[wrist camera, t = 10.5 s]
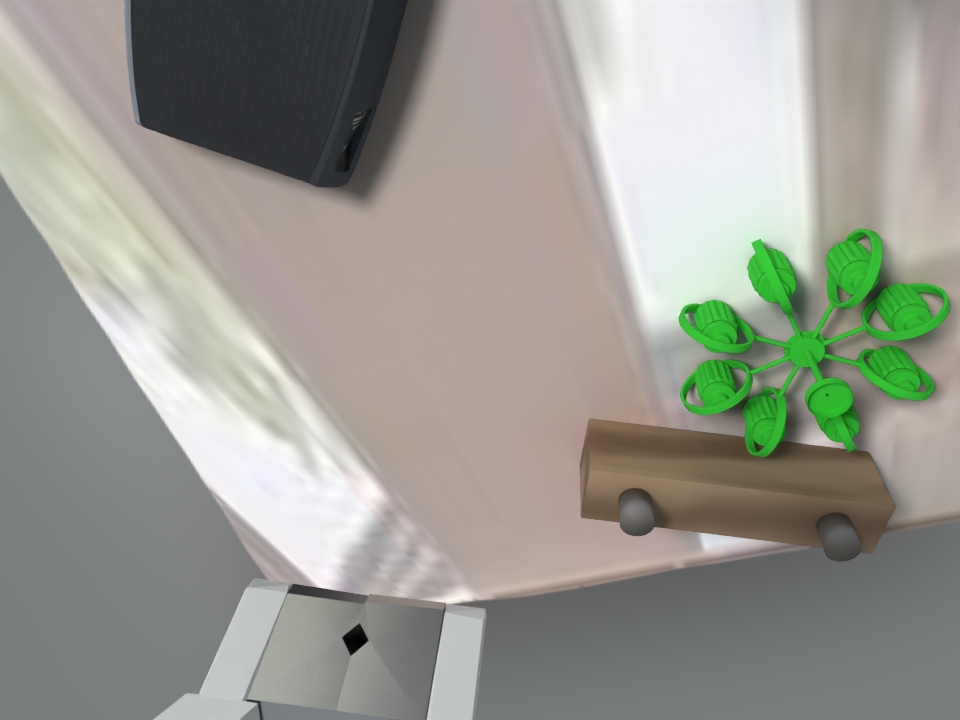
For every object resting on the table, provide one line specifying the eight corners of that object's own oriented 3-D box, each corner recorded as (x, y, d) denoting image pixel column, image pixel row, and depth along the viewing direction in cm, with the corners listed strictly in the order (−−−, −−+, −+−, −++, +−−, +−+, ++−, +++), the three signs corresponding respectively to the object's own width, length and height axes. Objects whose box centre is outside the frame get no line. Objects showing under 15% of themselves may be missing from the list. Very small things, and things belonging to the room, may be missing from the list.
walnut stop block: (589, 418, 50) (591, 492, 44) (868, 451, 50) (908, 531, 44) (579, 464, 52) (581, 541, 47) (847, 497, 52) (882, 579, 46)
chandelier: (891, 162, 40) (946, 215, 34) (964, 375, 46) (1021, 449, 40) (625, 286, 45) (633, 350, 39) (723, 461, 52) (743, 538, 46)
